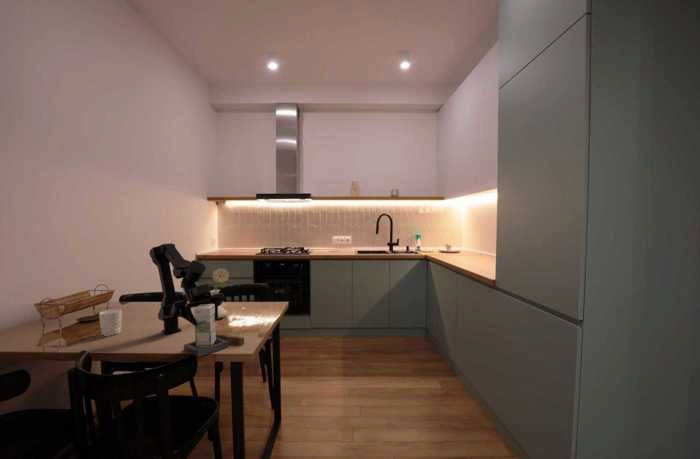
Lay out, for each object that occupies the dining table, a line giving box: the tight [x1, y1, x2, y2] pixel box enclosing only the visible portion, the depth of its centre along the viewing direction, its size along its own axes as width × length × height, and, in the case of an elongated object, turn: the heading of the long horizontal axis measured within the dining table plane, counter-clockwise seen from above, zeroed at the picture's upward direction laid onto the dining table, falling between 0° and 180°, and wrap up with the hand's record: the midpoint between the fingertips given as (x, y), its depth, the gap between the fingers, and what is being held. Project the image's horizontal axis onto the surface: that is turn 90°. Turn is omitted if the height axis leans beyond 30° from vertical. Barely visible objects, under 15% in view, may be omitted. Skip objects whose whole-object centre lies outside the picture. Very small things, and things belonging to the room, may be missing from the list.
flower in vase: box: [210, 267, 230, 319], centre depth 155 cm, size 13×11×25 cm
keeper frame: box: [183, 337, 229, 358], centre depth 115 cm, size 11×11×2 cm
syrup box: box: [193, 304, 217, 348], centre depth 115 cm, size 6×6×14 cm
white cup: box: [98, 308, 123, 337], centre depth 135 cm, size 8×8×10 cm
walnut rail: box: [216, 332, 245, 346], centre depth 122 cm, size 20×2×2 cm, turn 65°
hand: (206, 322), depth 115 cm, fingers closed on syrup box, 8 cm apart
